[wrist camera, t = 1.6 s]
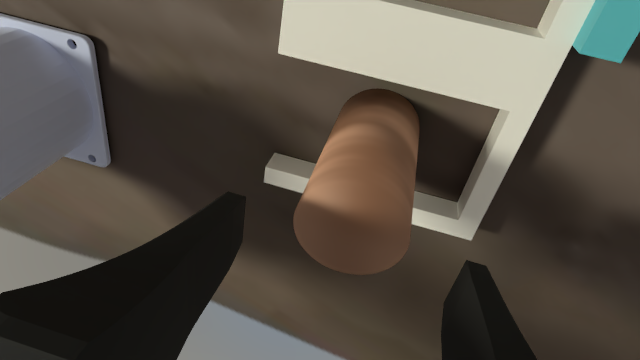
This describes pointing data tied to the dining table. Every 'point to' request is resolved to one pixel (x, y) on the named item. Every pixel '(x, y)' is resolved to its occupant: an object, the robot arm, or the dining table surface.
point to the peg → (362, 186)
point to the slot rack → (453, 73)
